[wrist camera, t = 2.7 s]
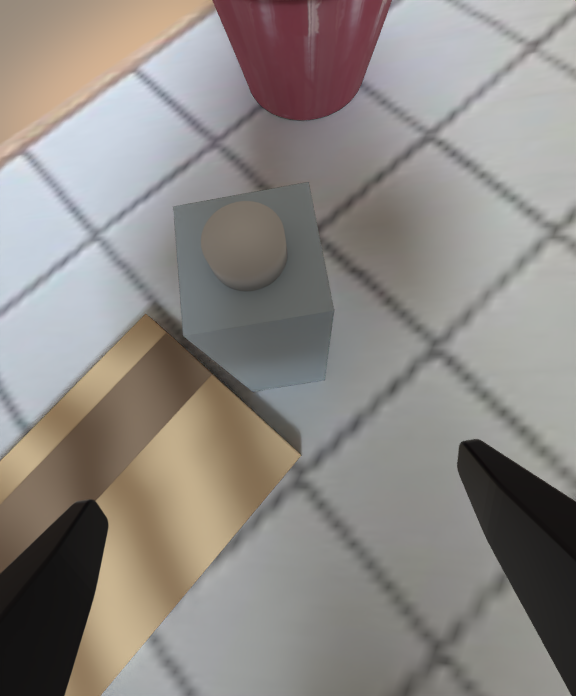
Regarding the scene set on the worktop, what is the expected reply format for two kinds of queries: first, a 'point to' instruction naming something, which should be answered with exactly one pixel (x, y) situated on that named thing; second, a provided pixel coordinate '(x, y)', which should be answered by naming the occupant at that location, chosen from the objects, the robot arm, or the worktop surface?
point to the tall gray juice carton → (256, 285)
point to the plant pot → (303, 50)
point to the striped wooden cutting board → (141, 485)
